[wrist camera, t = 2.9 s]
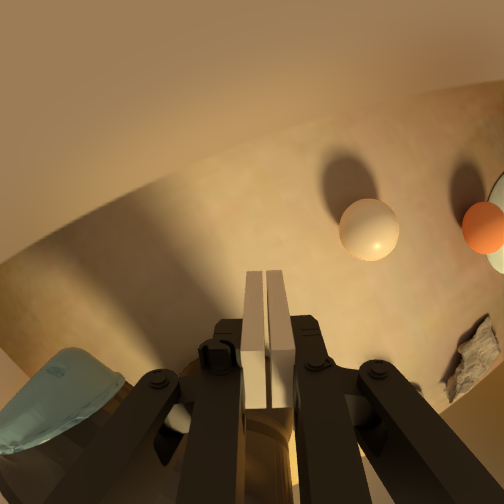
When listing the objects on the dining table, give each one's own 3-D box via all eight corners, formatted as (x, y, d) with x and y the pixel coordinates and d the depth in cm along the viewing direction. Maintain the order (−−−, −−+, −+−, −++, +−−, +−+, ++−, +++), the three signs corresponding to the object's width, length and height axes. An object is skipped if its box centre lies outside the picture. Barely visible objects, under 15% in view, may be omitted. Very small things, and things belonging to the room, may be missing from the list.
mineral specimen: (423, 371, 37) (432, 392, 33) (485, 311, 33) (500, 328, 29) (443, 387, 38) (452, 407, 34) (501, 333, 34) (514, 350, 30)
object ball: (464, 254, 30) (491, 272, 25) (445, 218, 29) (474, 232, 24) (493, 224, 29) (522, 238, 24) (476, 187, 28) (507, 196, 23)
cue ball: (354, 259, 31) (372, 282, 26) (321, 219, 29) (334, 235, 24) (395, 224, 29) (420, 241, 24) (364, 182, 28) (386, 191, 23)
